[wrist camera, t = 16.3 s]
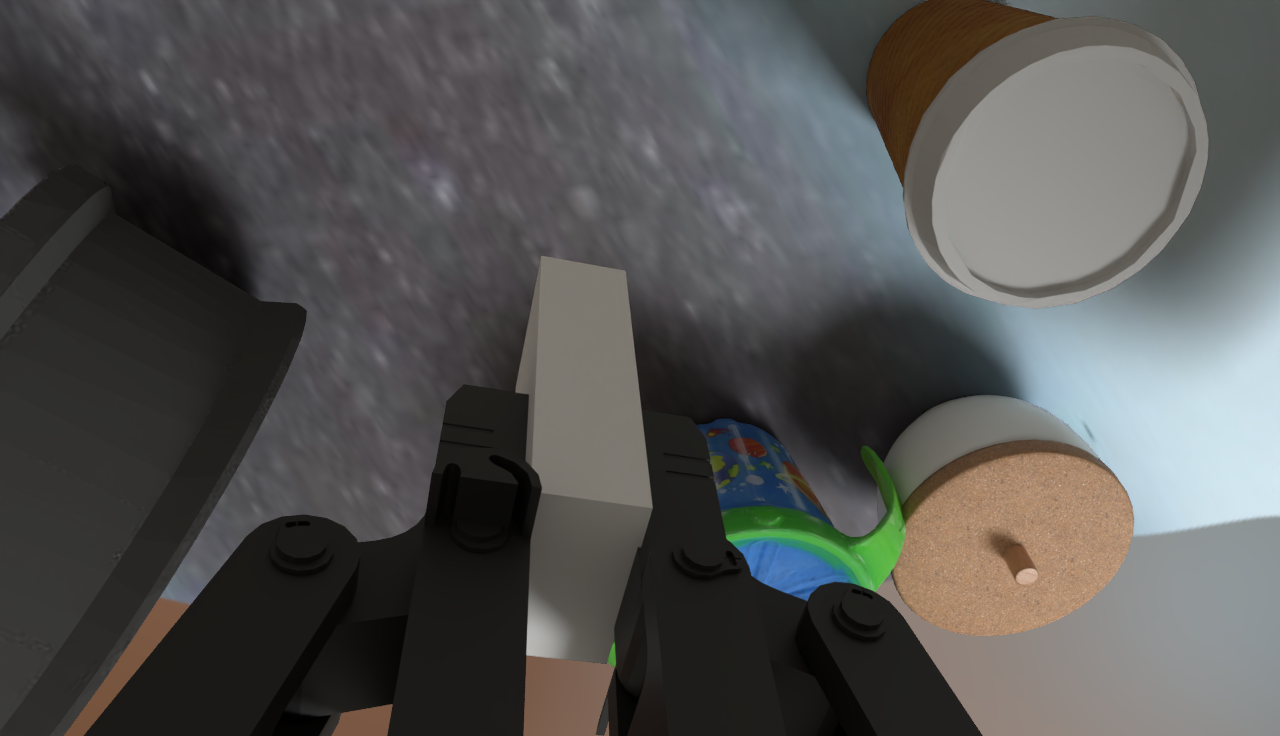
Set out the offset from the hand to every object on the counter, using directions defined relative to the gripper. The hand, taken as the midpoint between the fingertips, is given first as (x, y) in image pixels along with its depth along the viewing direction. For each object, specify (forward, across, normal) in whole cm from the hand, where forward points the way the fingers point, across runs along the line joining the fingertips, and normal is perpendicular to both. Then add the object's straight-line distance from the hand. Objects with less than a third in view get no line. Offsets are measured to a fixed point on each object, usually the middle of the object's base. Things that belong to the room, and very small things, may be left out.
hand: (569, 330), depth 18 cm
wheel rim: (+25, -16, -17) cm, 34 cm away
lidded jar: (+25, +23, -17) cm, 38 cm away
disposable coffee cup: (+25, +15, +1) cm, 29 cm away
